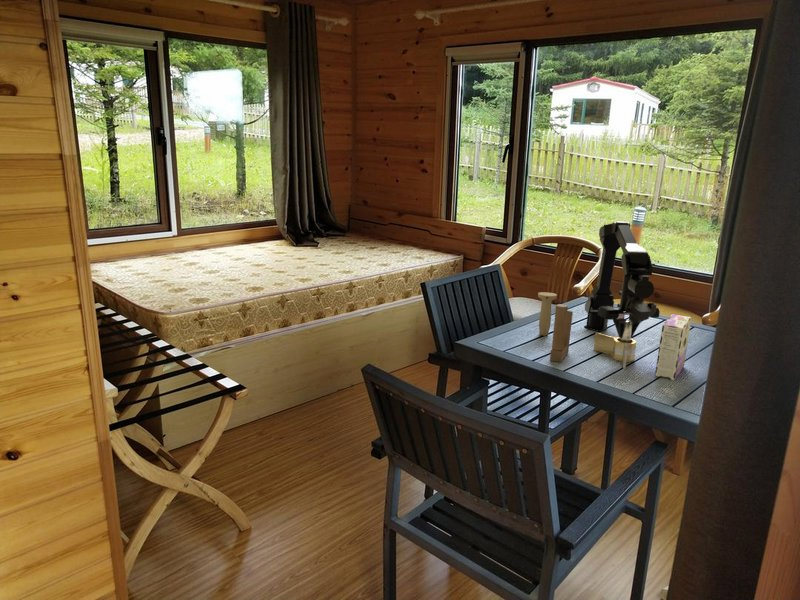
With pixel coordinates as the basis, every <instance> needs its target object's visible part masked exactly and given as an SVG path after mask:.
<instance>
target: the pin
mask: <svg viewBox="0 0 800 600" xmlns="http://www.w3.org/2000/svg"><path fill="white" fill-rule="evenodd" d="M626 320H627V321H626V322H625V323H624V329H623V336H622V338H620V341H619V342H623V343H630V340H631V339H632V338H631V332H632V325H633V321H631V320H629V319H626Z"/></svg>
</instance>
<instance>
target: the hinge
mask: <svg viewBox="0 0 800 600" xmlns="http://www.w3.org/2000/svg"><path fill="white" fill-rule="evenodd" d="M619 341H620V338H619V336H617V337H615V336H613V335H612V336H610V335H608V334H604V333H600V332H598V331H596V332H595V335H594V342H593V351H597V352H600V353H603V354H607V355H609V354H610V356H611V357H612V359H613V360H616V361H618V360H619V361H618V362H621V361H622V363H623V364H622V367H623V368H622V369H623V370H626V368H627V362H628V363H630V362H633V361H635V357H636V349H637V341H636V340H635V339H633V338H631V340H630V343H623V342H619Z"/></svg>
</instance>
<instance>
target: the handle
mask: <svg viewBox="0 0 800 600" xmlns="http://www.w3.org/2000/svg"><path fill="white" fill-rule="evenodd" d="M537 297H538V298H539V300H541V306H540V307H541V308H540V312H539V319H538V320H539V321H538V330H539V331H538V334H539V335H540V336H543V337H544V336H546V335H547V336H548V335H549V332H550V328H551V323H552V302H553V301H555V300H556V299H557V297H558V294H556V293H554V292H545V291H543V292H542V291H541V292H537Z"/></svg>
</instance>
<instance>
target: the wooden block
mask: <svg viewBox="0 0 800 600" xmlns="http://www.w3.org/2000/svg"><path fill="white" fill-rule="evenodd" d="M568 307H569V306H568V305H566V304H562V303H561V304H560V303H559V304H558V303H557V304H556V305H555V309H554V310H555V311H554V312H555V313H554V323H553V333H552V342H551V350H550V354H549V361H552V362H556V363H562V362H563V360H564V359H565V357H566V356H567V355H568V353H569V349H570V340H571V330H572V323H573V321H572V320H573V313H574V312H573V311H571V310H568Z"/></svg>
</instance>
